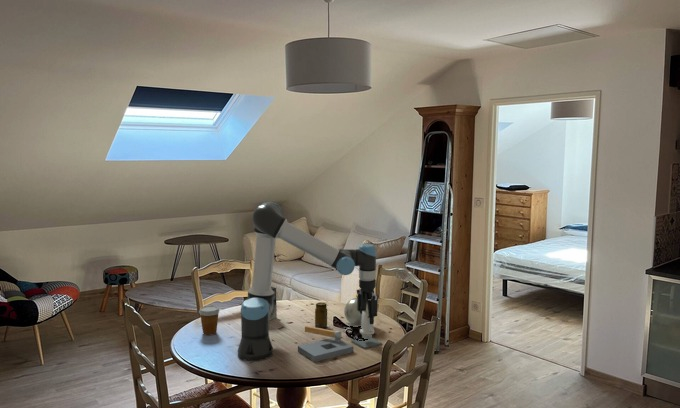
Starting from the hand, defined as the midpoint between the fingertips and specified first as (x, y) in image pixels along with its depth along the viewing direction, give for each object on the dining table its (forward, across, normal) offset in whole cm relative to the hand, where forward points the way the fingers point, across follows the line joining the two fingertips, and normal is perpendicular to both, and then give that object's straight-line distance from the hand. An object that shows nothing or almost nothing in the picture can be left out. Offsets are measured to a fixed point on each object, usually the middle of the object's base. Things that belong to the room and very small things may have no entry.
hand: (367, 328), depth 251 cm
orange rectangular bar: (+3, +11, +17) cm, 20 cm away
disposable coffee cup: (+7, +52, +55) cm, 76 cm away
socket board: (+7, +2, +21) cm, 22 cm away
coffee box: (+7, +56, +23) cm, 61 cm away
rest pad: (+7, 0, 0) cm, 7 cm away
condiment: (+7, +29, +6) cm, 31 cm away
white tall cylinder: (+4, 0, 0) cm, 4 cm away
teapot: (+7, +22, -10) cm, 25 cm away
